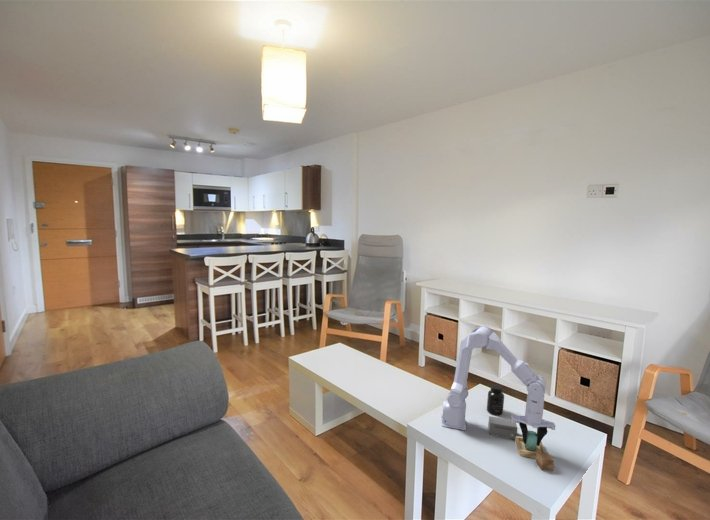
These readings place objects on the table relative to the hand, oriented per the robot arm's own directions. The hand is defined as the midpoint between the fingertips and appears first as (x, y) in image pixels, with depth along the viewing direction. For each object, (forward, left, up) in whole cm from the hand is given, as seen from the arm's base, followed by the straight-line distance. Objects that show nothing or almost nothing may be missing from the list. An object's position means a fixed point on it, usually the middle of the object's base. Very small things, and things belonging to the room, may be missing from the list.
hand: (530, 443), depth 133 cm
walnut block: (+3, -8, -3) cm, 9 cm away
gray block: (-9, +8, -3) cm, 12 cm away
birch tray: (0, 0, -3) cm, 3 cm away
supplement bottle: (-10, +24, -3) cm, 26 cm away
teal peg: (0, 0, -2) cm, 2 cm away
